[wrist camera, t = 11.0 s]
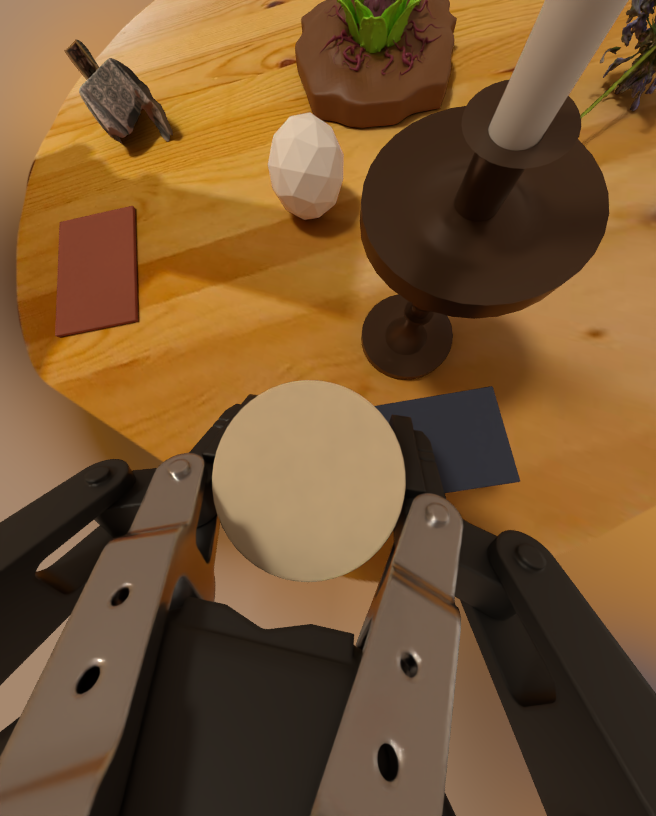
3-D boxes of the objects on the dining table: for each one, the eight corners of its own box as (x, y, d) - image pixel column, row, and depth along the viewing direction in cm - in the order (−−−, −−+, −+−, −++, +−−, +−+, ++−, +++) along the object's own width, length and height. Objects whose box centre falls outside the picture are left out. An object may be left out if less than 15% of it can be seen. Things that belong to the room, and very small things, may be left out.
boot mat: (138, 321, 28) (135, 319, 28) (59, 337, 28) (55, 335, 28) (135, 208, 31) (132, 205, 30) (63, 224, 31) (59, 222, 31)
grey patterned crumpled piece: (133, 139, 28) (27, 48, 26) (158, 191, 35) (75, 123, 32) (180, 98, 30) (83, 8, 27) (195, 156, 36) (118, 87, 34)
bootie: (293, 508, 15) (218, 596, 6) (283, 425, 16) (204, 396, 7) (491, 477, 14) (727, 525, 5) (468, 394, 15) (640, 319, 6)
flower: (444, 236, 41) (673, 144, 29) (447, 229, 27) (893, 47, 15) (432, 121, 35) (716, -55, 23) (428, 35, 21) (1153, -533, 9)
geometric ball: (302, 237, 31) (246, 196, 25) (318, 166, 29) (262, 103, 23) (345, 232, 27) (290, 180, 21) (368, 147, 25) (314, 62, 19)
